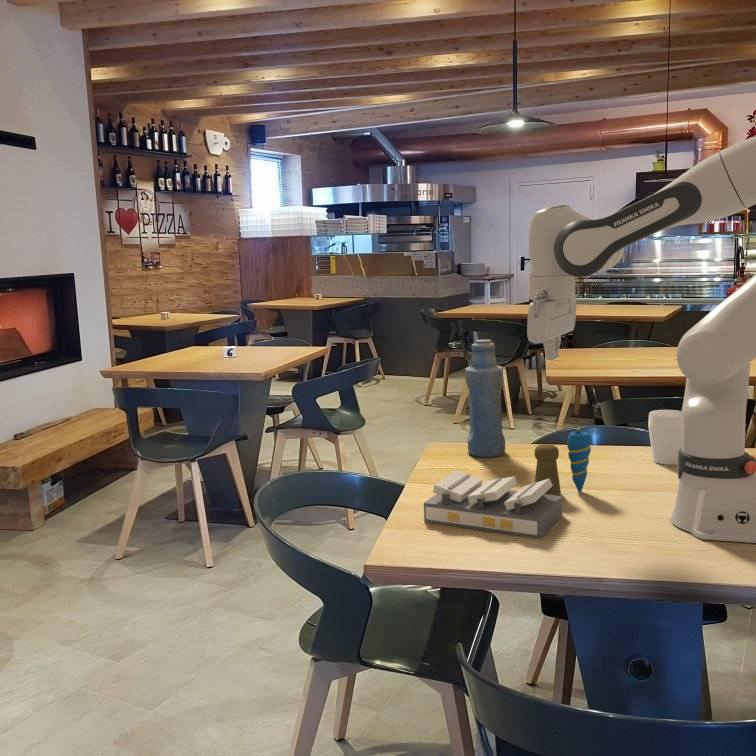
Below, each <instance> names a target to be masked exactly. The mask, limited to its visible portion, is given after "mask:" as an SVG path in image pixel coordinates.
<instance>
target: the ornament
mask: <svg viewBox="0 0 756 756" xmlns="http://www.w3.org/2000/svg"><path fill="white" fill-rule="evenodd" d="M581 430H582V429H581V428H580V427H579V425H577V428H576V430H575V431H571V432H570V433H569V434H568V437H567V440H566V444H567V448H568V459H569V461H570V471H571V473H572V477H571V479H572V482H573V483H574V486H575V487H576V490H577V492H578V493H579V492H580V493H581V492H583V487H584V484H585V482H586V479H587V475H588V465H589V463H590V459H589V456H590V454H591V452H592V451H591V450H592V447H591V443H592V436H591V434H590V433H589V432H586V431H581Z"/></svg>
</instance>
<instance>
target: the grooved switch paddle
mask: <svg viewBox="0 0 756 756" xmlns="http://www.w3.org/2000/svg"><path fill="white" fill-rule="evenodd" d="M482 485H483V479H482V478H479V477H477V476H474V475H471V474H469V473H465V472H463V471H459V470H455V471H453V472H452V473H451V474H449V475H447V476H446V477H445V478H443V479H441V480H440V481H438V482H436V483H435V484H434V485H433V489H432V493H433V494H435V495H436V494H439V495H442V493H447V494H449V498H450V499H452V500H455V501H458V502H461V501H462V500H464V499H465V498H466V497H468V495H470V494H471V493H472V492H474V491H475V490H477V489H478V488H479V487H481V486H482Z"/></svg>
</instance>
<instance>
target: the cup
mask: <svg viewBox="0 0 756 756" xmlns="http://www.w3.org/2000/svg"><path fill="white" fill-rule="evenodd" d="M681 423H682V410H677V409H657V410H656V409H655V410H651V411H649V413H648V424H647V425H648V432H649V441H650V446H651V447H650V448H651V455H652V456H651V457H652V461H653V462H654V463H655V464H658V463H659V465H663V464H664V465H665V466H666V465H667V466H673V465H674V466H676V465H678V454H679V450H680V448H681Z"/></svg>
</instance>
